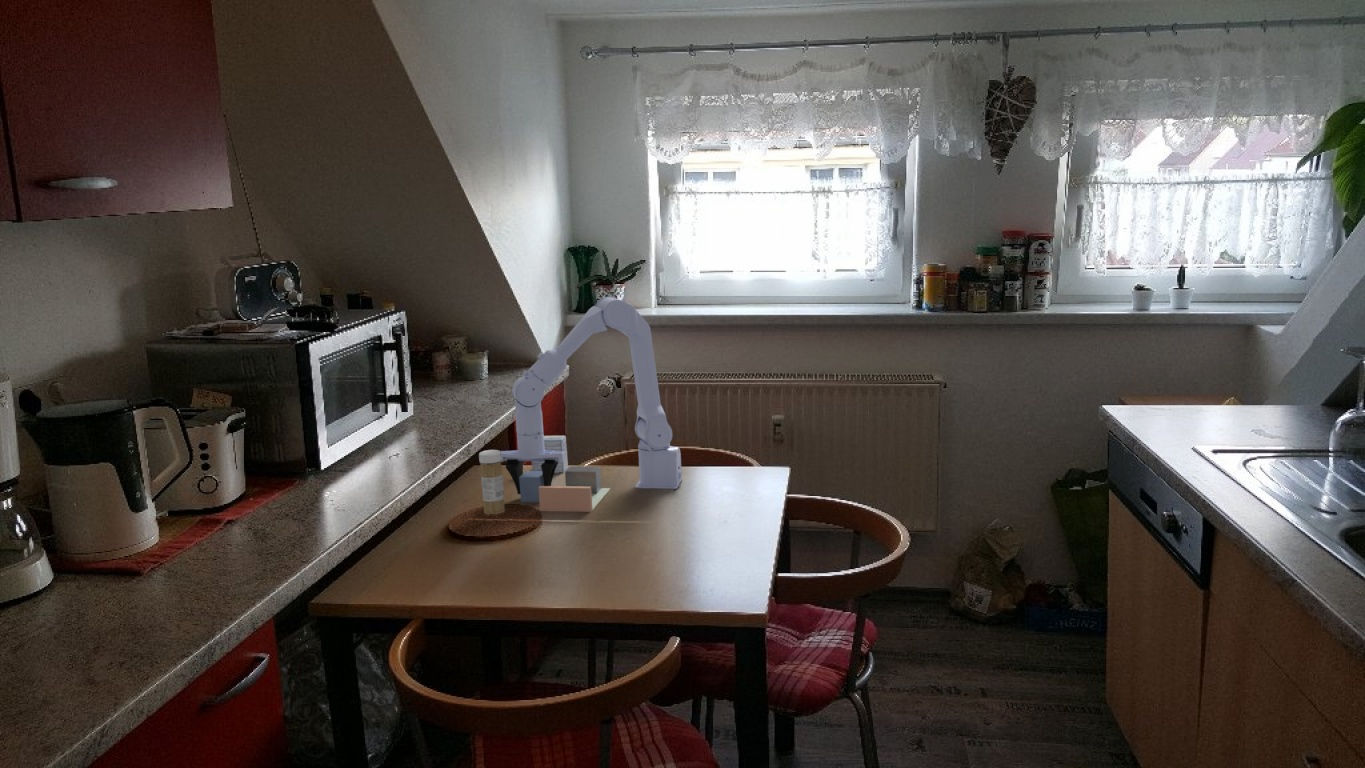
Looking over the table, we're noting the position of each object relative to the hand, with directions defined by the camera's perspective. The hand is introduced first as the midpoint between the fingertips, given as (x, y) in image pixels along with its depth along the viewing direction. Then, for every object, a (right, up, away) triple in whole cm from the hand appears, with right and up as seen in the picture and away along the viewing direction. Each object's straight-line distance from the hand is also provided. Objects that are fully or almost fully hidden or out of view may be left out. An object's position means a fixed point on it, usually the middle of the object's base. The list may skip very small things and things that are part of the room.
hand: (534, 493), depth 213 cm
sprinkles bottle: (-7, -4, -8) cm, 12 cm away
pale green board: (+9, -2, -1) cm, 10 cm away
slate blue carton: (0, -2, 0) cm, 2 cm away
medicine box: (0, +2, +23) cm, 23 cm away
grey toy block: (+10, 0, +5) cm, 11 cm away
